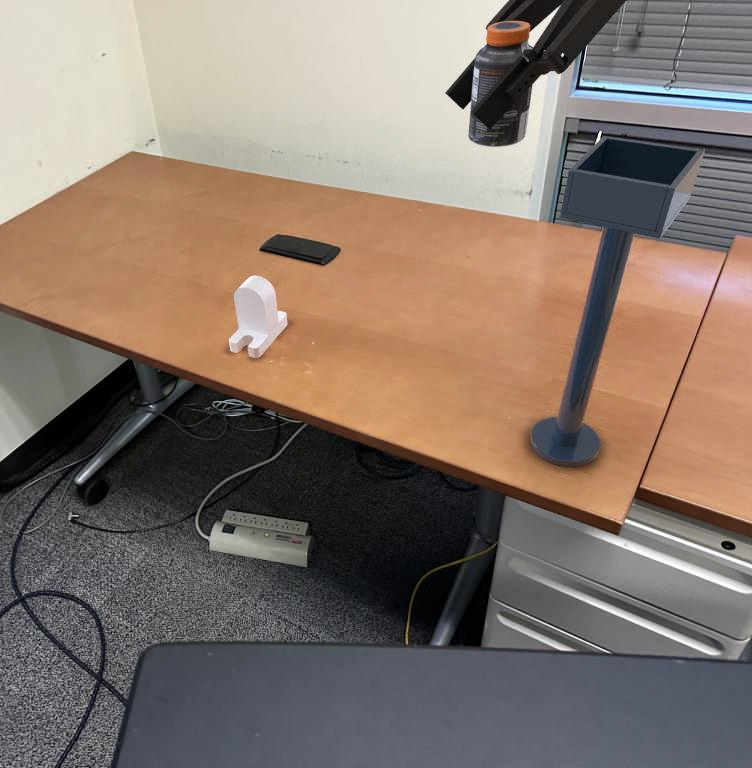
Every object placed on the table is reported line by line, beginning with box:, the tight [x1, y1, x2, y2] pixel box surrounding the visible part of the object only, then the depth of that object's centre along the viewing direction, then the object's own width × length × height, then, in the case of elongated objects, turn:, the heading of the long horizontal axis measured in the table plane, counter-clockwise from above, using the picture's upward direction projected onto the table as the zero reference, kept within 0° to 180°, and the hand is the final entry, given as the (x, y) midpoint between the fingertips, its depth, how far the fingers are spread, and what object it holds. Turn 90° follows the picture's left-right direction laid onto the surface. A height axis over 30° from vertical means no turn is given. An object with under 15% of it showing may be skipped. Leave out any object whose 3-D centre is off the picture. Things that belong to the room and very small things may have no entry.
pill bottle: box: [467, 21, 534, 148], centre depth 71 cm, size 6×6×11 cm
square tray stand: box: [529, 135, 706, 468], centre depth 72 cm, size 8×8×36 cm
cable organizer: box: [228, 275, 288, 359], centre depth 104 cm, size 5×10×10 cm, turn 149°
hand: (467, 110), depth 72 cm, fingers closed on pill bottle, 6 cm apart
